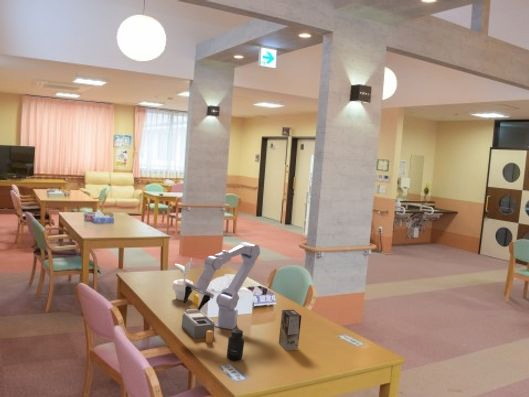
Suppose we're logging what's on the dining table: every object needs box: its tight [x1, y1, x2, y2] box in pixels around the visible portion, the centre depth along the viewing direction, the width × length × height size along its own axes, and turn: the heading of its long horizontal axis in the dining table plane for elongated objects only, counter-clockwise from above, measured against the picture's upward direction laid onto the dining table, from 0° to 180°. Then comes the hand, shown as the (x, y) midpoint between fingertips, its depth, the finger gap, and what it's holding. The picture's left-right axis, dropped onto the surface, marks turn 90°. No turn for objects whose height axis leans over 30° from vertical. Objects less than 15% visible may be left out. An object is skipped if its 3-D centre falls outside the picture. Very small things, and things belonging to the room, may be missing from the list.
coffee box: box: [278, 309, 302, 351], centre depth 227 cm, size 9×6×16 cm
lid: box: [185, 308, 205, 319], centre depth 238 cm, size 7×7×2 cm
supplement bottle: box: [226, 328, 245, 362], centre depth 208 cm, size 7×7×12 cm
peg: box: [205, 330, 214, 344], centre depth 223 cm, size 3×3×5 cm
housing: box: [181, 310, 216, 339], centre depth 235 cm, size 16×10×7 cm, turn 30°
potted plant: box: [172, 256, 195, 301], centre depth 282 cm, size 13×12×25 cm
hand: (191, 306), depth 228 cm, fingers open, 7 cm apart
